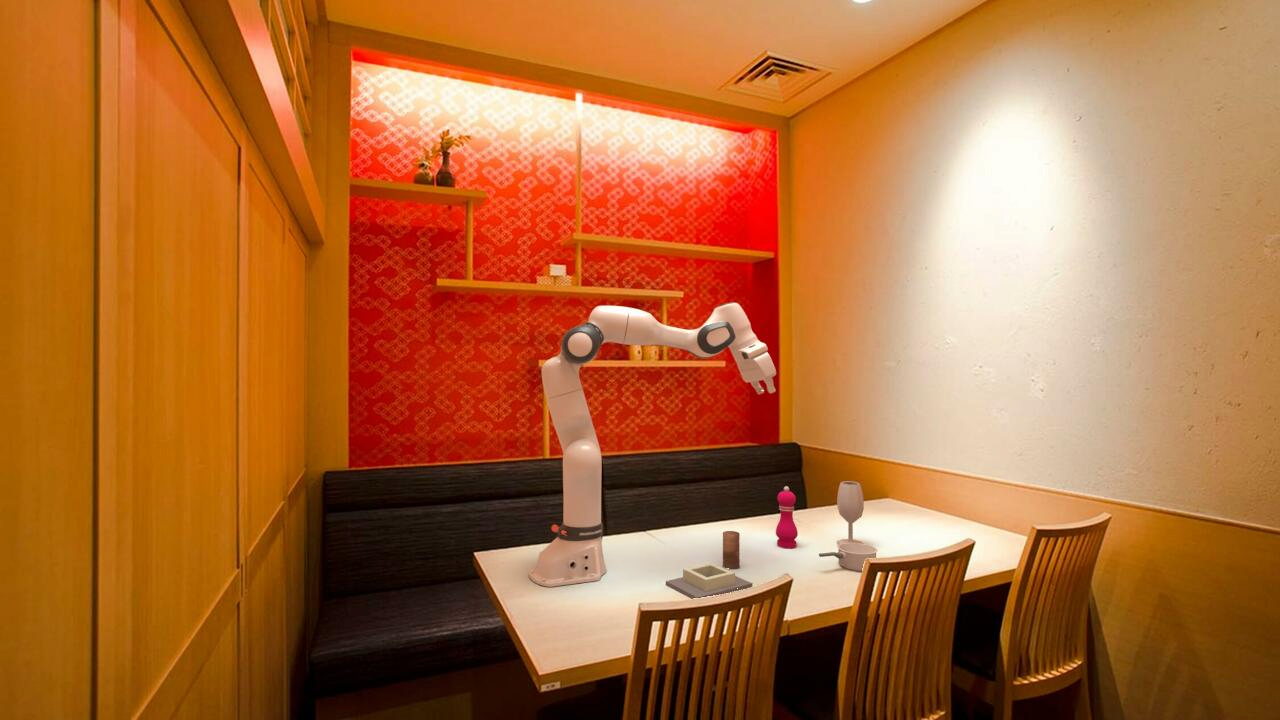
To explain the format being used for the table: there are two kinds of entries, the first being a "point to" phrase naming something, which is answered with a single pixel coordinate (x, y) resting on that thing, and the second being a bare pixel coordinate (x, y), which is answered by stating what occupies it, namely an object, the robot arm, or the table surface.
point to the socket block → (707, 581)
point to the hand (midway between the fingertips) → (766, 392)
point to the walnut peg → (731, 549)
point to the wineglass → (850, 506)
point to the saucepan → (852, 555)
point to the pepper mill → (786, 520)
